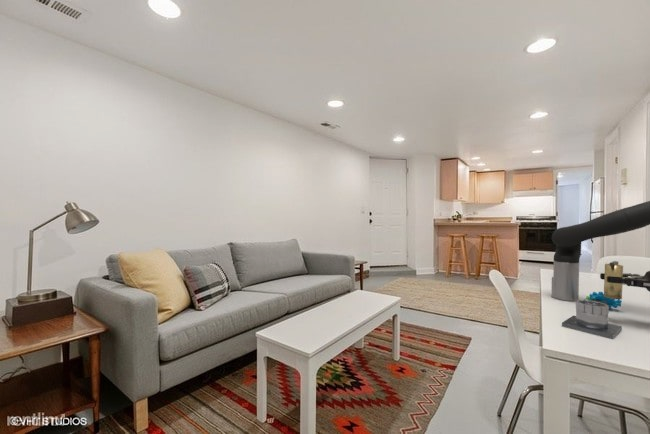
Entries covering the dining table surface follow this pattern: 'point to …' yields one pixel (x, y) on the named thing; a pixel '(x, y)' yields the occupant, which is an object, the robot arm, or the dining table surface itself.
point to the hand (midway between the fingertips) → (604, 277)
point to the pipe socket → (592, 319)
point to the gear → (604, 299)
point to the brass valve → (613, 288)
